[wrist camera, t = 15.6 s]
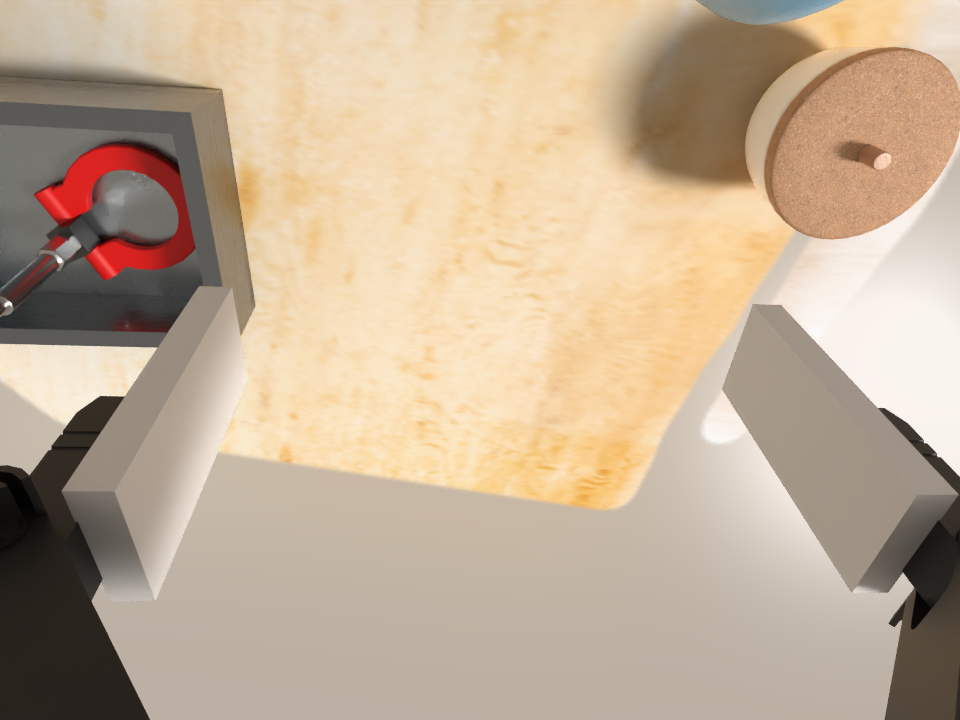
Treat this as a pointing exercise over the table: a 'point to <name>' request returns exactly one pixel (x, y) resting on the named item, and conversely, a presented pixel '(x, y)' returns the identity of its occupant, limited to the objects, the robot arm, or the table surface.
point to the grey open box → (117, 208)
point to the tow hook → (81, 239)
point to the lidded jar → (852, 137)
